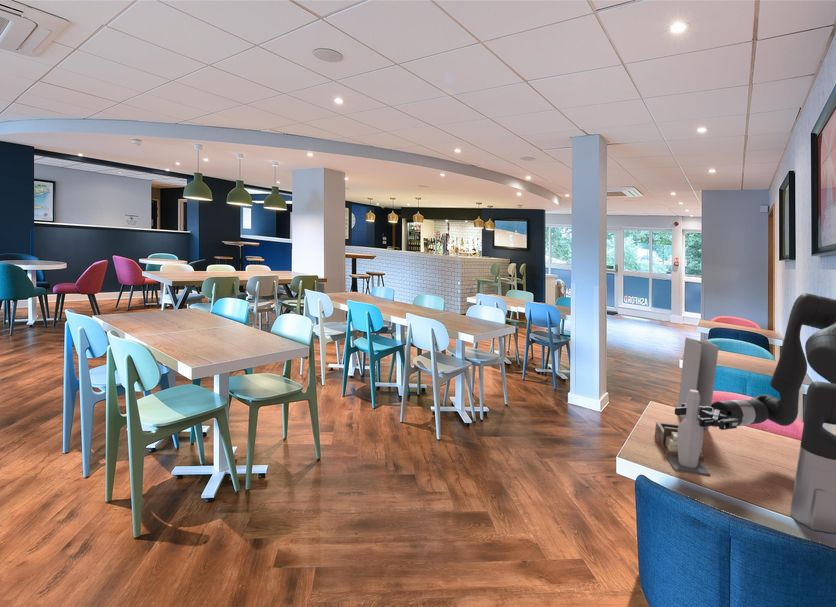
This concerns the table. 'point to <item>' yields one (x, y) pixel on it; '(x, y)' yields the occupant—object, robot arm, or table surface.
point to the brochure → (698, 371)
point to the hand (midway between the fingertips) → (687, 417)
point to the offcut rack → (669, 438)
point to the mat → (678, 467)
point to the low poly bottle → (690, 433)
